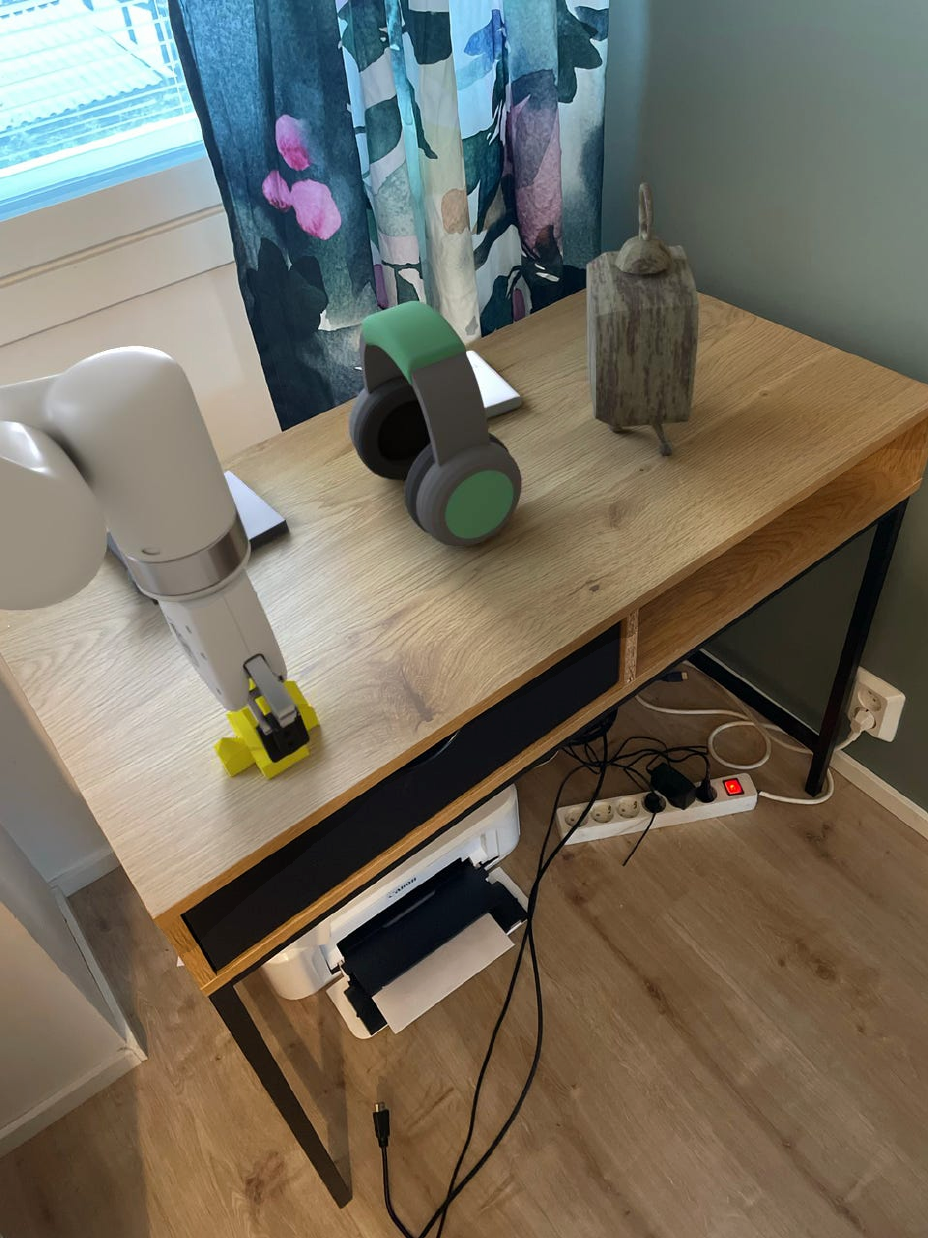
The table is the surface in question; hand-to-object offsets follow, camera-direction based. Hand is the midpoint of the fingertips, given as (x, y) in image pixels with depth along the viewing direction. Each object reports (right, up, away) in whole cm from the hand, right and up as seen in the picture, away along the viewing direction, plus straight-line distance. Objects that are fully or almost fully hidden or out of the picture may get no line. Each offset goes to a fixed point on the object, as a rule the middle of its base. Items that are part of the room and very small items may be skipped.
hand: (260, 711), depth 69 cm
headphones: (+13, +19, +23) cm, 32 cm away
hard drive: (+16, +33, +36) cm, 52 cm away
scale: (-11, +15, +22) cm, 29 cm away
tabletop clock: (+34, +27, +28) cm, 52 cm away
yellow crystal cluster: (0, -3, +3) cm, 4 cm away
